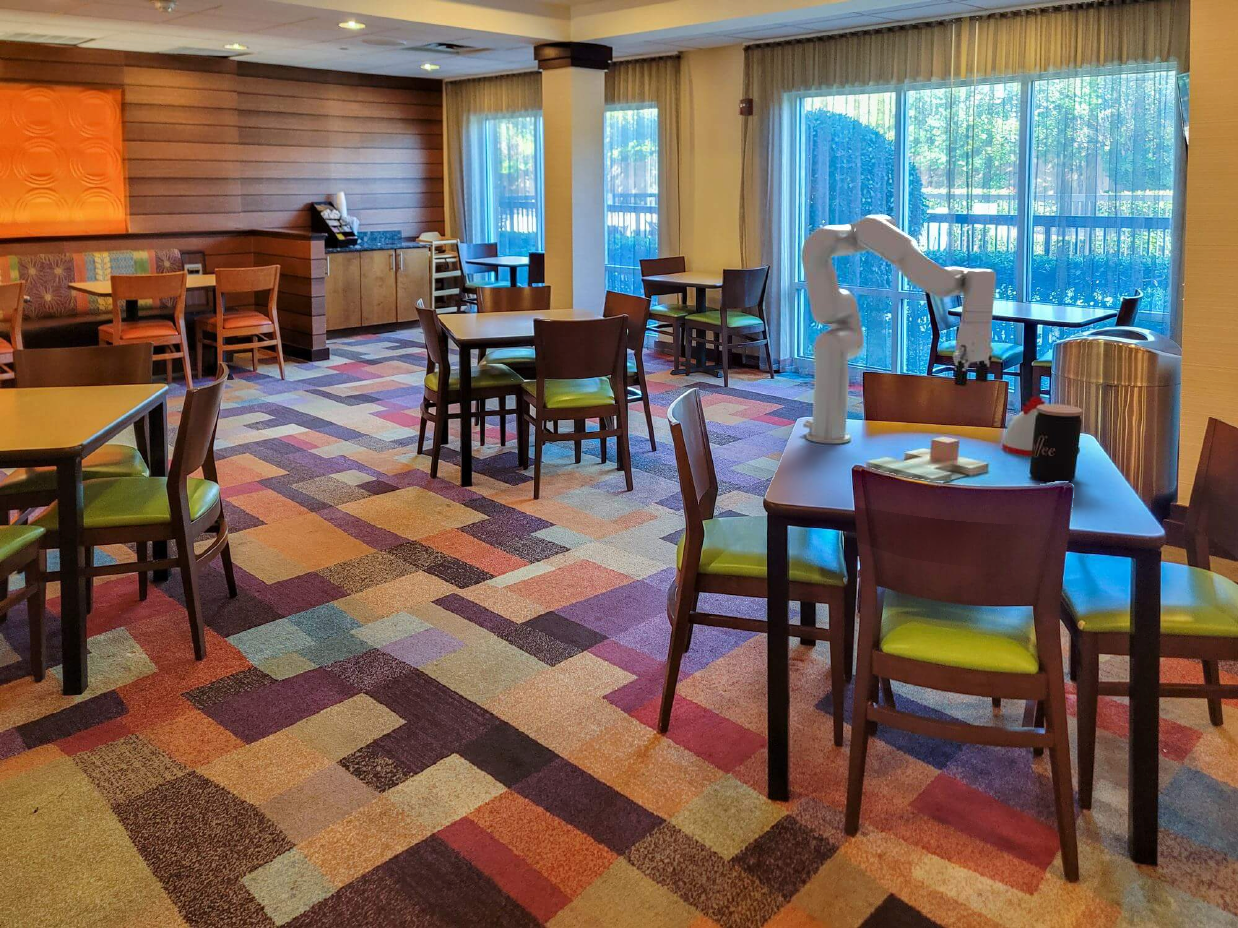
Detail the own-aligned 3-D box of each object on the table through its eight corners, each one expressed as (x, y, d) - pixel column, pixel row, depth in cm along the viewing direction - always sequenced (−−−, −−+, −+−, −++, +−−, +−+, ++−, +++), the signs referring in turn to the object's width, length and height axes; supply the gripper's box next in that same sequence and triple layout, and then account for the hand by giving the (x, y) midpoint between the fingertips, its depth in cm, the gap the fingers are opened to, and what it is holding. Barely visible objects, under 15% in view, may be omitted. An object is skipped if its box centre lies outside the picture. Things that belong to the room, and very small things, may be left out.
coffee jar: (1021, 473, 268) (1028, 404, 264) (1061, 472, 269) (1069, 403, 265) (1040, 484, 258) (1049, 412, 253) (1082, 484, 259) (1091, 412, 254)
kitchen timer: (1066, 452, 290) (1072, 399, 286) (1033, 458, 283) (1039, 404, 280) (1024, 442, 302) (1029, 391, 298) (991, 448, 295) (996, 395, 291)
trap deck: (865, 468, 271) (866, 461, 271) (922, 455, 286) (923, 448, 285) (931, 486, 256) (932, 478, 255) (988, 470, 270) (988, 463, 270)
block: (929, 457, 275) (931, 439, 274) (941, 455, 278) (943, 436, 277) (946, 461, 271) (948, 442, 270) (957, 458, 274) (959, 440, 273)
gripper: (981, 314, 279) (976, 378, 283) (944, 318, 268) (939, 385, 273) (1007, 316, 274) (1001, 381, 278) (971, 321, 263) (965, 389, 267)
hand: (970, 383), depth 275 cm, fingers open, 9 cm apart
